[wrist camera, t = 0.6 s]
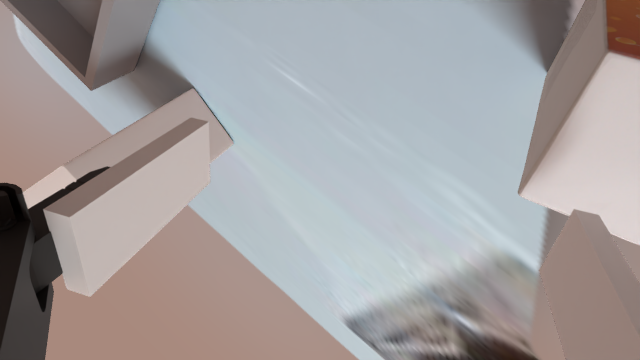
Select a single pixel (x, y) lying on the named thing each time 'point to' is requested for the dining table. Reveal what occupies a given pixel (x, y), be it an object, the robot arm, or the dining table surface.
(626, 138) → the small box
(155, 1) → the tray
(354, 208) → the dining table surface
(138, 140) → the milk carton
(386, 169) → the dining table surface
